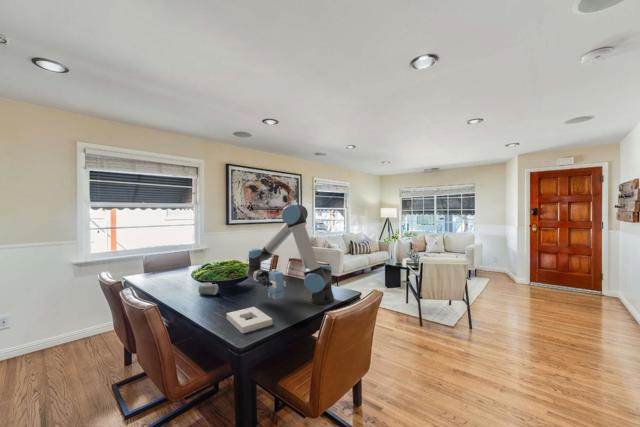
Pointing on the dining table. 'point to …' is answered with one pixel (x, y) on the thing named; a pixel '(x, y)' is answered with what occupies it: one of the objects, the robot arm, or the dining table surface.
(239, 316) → the frame
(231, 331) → the dining table surface
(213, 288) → the spool
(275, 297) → the servo
